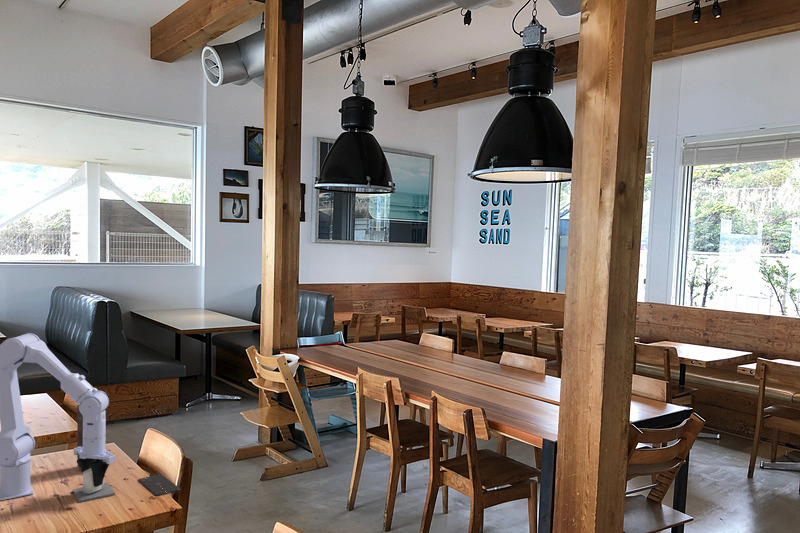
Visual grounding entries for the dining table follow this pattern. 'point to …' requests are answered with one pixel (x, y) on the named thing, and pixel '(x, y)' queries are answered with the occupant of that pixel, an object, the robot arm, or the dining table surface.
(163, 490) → the smartphone
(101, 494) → the slate coaster
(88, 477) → the charger plug
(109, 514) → the dining table surface
